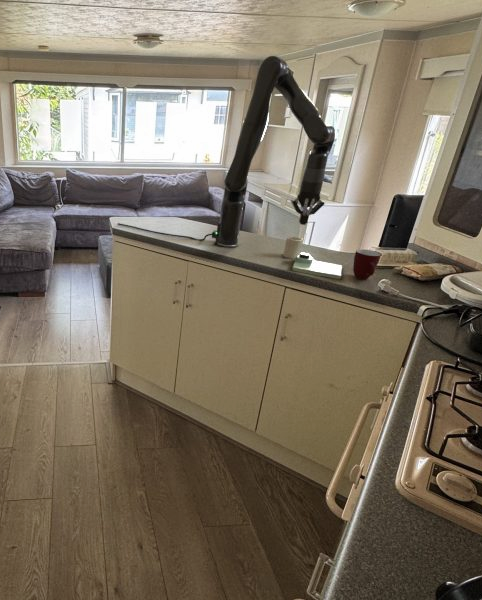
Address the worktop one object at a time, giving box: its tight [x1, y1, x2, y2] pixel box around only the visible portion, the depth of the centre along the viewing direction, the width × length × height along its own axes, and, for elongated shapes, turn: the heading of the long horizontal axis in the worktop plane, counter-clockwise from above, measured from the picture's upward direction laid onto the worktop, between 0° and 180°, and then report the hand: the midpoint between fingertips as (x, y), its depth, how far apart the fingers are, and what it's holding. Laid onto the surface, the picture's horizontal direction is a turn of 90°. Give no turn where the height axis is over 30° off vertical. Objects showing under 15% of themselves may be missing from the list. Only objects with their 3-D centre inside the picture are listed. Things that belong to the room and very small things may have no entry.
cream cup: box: [282, 235, 304, 260], centre depth 181 cm, size 6×6×8 cm
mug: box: [352, 248, 382, 281], centre depth 158 cm, size 10×8×10 cm
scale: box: [291, 254, 343, 280], centre depth 168 cm, size 17×14×3 cm
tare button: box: [299, 252, 311, 259], centre depth 172 cm, size 4×4×2 cm
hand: (302, 224), depth 173 cm, fingers closed
